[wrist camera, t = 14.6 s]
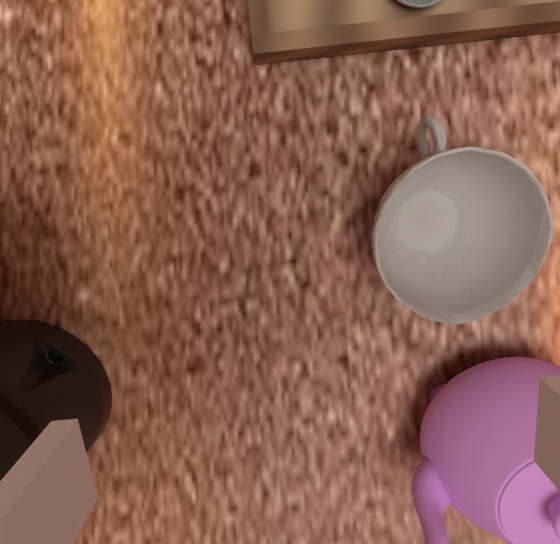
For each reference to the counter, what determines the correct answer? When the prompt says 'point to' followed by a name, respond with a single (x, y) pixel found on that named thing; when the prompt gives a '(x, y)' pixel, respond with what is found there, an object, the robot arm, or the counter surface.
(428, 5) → the ceramic mug
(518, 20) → the tray
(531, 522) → the teapot
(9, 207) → the counter surface
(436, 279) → the teacup
